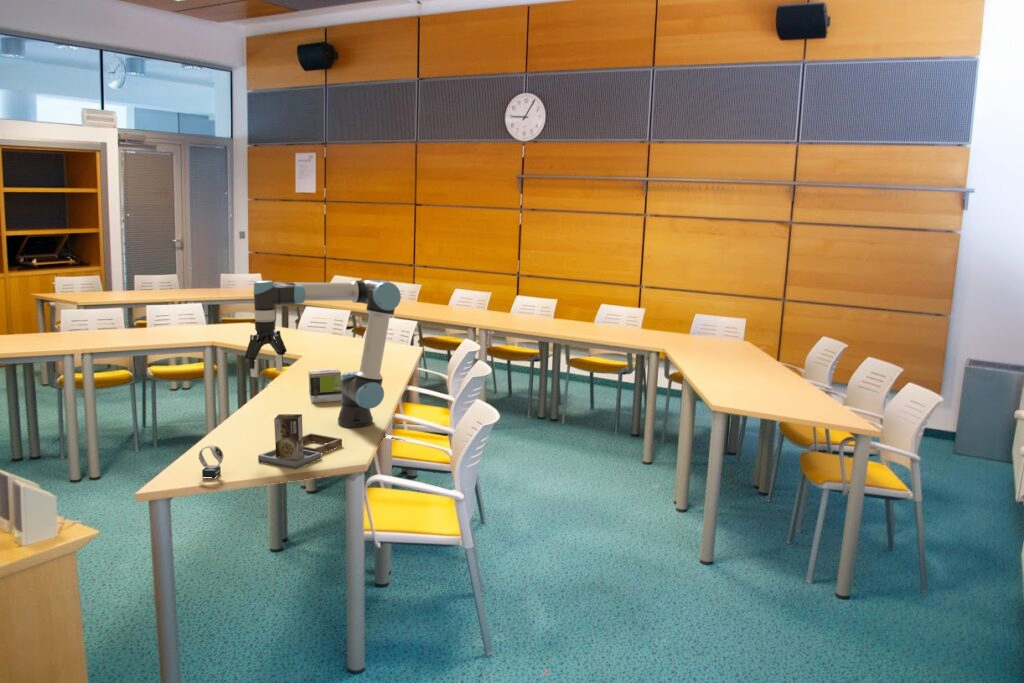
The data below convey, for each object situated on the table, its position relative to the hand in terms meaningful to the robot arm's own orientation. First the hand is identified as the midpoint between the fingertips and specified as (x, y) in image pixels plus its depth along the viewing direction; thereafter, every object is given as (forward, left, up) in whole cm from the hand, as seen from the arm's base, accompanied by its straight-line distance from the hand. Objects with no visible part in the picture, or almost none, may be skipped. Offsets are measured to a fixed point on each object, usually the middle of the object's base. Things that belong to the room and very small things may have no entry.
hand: (266, 373), depth 313 cm
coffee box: (+12, +22, -28) cm, 37 cm away
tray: (+12, +22, -29) cm, 38 cm away
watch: (+39, +11, -29) cm, 50 cm away
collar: (-4, +19, -29) cm, 35 cm away
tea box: (-69, -30, -29) cm, 81 cm away
